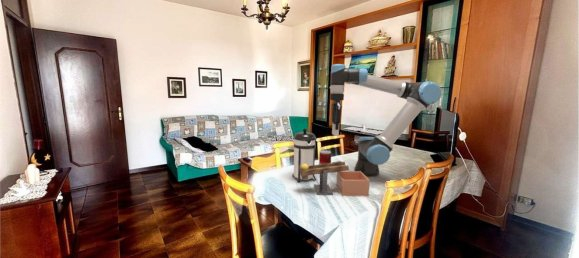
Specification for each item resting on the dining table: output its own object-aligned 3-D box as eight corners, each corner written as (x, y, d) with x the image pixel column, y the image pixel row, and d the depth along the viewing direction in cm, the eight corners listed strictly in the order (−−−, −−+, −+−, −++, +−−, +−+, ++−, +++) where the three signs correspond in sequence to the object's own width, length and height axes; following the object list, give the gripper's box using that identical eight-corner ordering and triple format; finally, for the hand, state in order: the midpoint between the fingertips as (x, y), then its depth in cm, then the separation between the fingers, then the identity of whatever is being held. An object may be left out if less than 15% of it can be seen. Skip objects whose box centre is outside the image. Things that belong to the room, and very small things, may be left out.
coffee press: (321, 177, 144) (323, 127, 139) (308, 185, 130) (310, 131, 126) (297, 171, 153) (297, 125, 148) (282, 179, 140) (283, 128, 135)
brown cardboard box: (359, 185, 132) (360, 171, 130) (368, 195, 119) (369, 180, 117) (336, 185, 131) (336, 171, 130) (342, 195, 118) (342, 180, 117)
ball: (308, 169, 124) (307, 162, 124) (309, 171, 120) (308, 164, 120) (301, 170, 124) (300, 163, 124) (301, 173, 120) (300, 165, 120)
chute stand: (316, 194, 119) (317, 170, 117) (313, 186, 130) (314, 163, 128) (332, 194, 119) (333, 170, 117) (328, 186, 130) (329, 163, 128)
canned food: (328, 170, 157) (328, 153, 155) (317, 167, 161) (317, 152, 159) (332, 167, 163) (333, 151, 161) (321, 165, 167) (322, 149, 166)
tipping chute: (301, 179, 119) (300, 169, 118) (299, 171, 132) (298, 161, 131) (349, 174, 120) (348, 163, 119) (342, 166, 133) (341, 156, 132)
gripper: (327, 92, 141) (326, 132, 144) (333, 93, 124) (331, 137, 128) (340, 93, 141) (338, 132, 145) (347, 93, 125) (345, 137, 128)
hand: (335, 134), depth 136 cm, fingers open, 3 cm apart
